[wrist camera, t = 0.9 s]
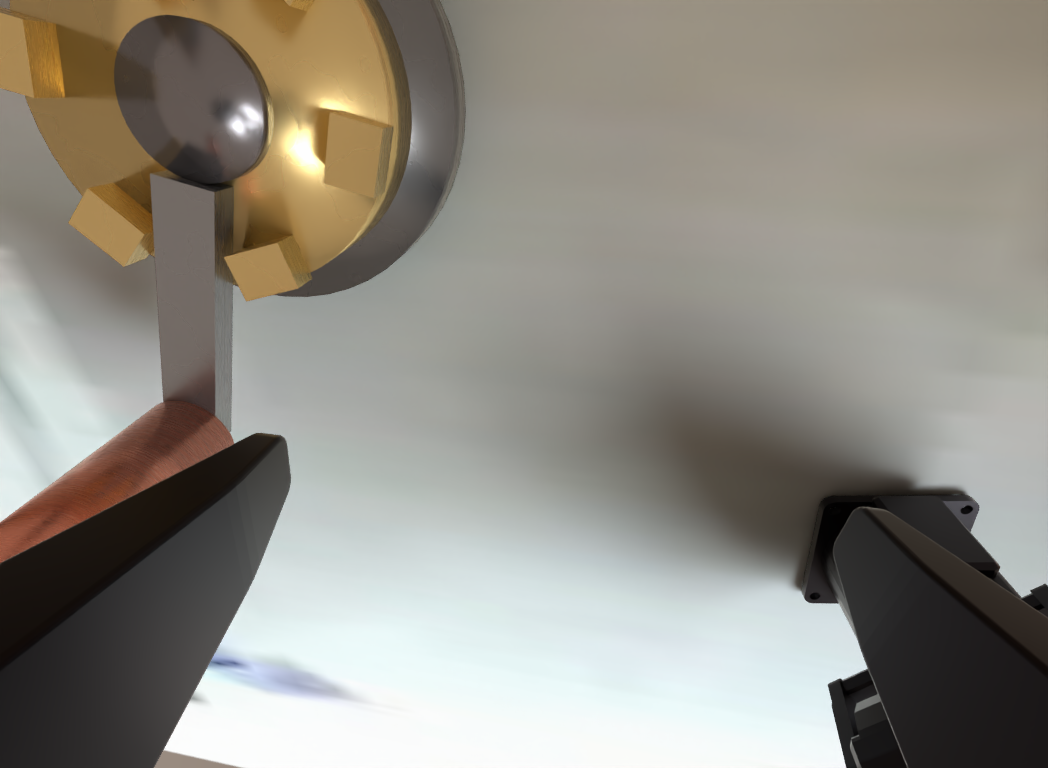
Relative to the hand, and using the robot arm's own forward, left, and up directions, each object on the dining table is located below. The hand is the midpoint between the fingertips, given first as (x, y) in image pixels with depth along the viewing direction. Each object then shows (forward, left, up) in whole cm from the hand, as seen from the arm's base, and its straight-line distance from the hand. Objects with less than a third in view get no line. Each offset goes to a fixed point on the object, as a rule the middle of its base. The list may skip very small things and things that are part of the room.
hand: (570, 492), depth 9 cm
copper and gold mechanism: (+3, +11, -12) cm, 17 cm away
